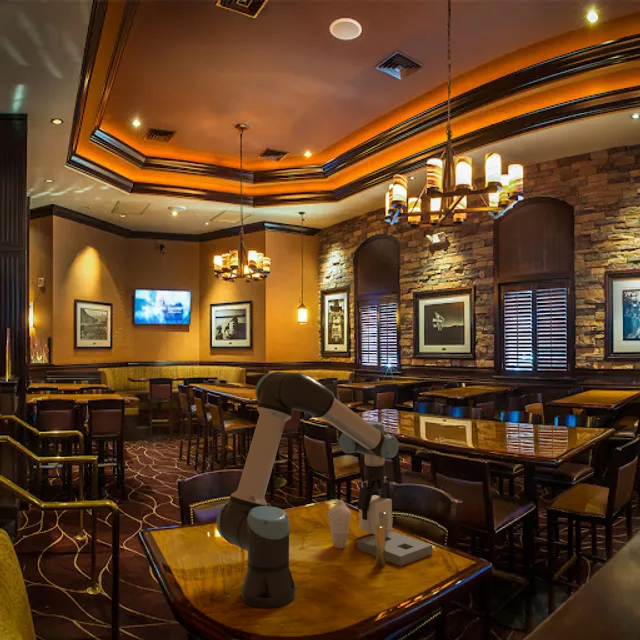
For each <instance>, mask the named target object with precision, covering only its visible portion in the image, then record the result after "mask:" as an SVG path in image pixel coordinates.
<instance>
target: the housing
mask: <svg viewBox="0 0 640 640" xmlns="http://www.w3.org/2000/svg"><path fill="white" fill-rule="evenodd" d="M392 503H393V499H392V500H391V499H389V498H382V497H380V496H379V495H376V494H374V495H372V498H371V501H370V502H369V508H368V511H370V529H366V528H363V519H362V510H360V509H358V515H359V516H358V518H359V519H358V520H359V521H358V522H359V526H358V527H359V530H361V531H364V532H366V533H370V534H372V535H375V526H377V525H379V512H381V511H385V512H388V530H390V531H393V506H392V505H393V504H392Z"/></svg>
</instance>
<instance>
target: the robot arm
mask: <svg viewBox="0 0 640 640" xmlns="http://www.w3.org/2000/svg"><path fill="white" fill-rule="evenodd" d="M254 392H255V397H256V401H257V406H256V409H257V412H258V414H259V416H258V419H257V423H256V426H255V429H254V434H253V436H252V440H251V443H250V446H249V450H248V453H247V456H246V459H245V463H244V467H243V470H242V473H241V477H240V480H239V484H238V487H237V489H236V491H234V492H233V493H231V494H230V498H229V500H228V501H227V502H225V503H224V505H222V506H221V507H220V509H219V510H218V512H217V515H216V529H217V532H218V533H219V536H220V537H221V538H223V539H224V540H225V541H226V542H227V543H229V544H231V545H234V546H236V547H238V548H241V549H243V550H245V551H246V552H247V570H246V574H245V577H244V580H243V583H242V587H241V600H242V602H243V601H244V604H246V605H248V606H250V605H251V606H250V607H253V606H254V608H259V607H260V608H261V609H267V608H268V609H270V608H271V609H273V608H277V607H278V608H279V607H281V606H282V607H283V606H285V605H287V604H288V603H291V602H292V601H293V600H294V599H295V598H296V584H295V580H294V578H293V575H292V573H291V569H290V522H289V516H288V514H287V512H285V511H284V510H283V509H282V508H280V507H276V506H269V505H268V503H267V500H266V499H265V495H266V492H267V488H268V485H269V481H270V479H271V478H270V477H271V474H272V470H273V468H274V464H275V460H276V456H277V453H278V449H279V445H280V442H281V439H282V434H283V432H284V427H285V423H287V421H289V420H291V419H292V417H293V413H294V411H299V412H302V413H303V412H304V413H307V414H309V415H311V416H313V417H314V418H316V419H320V418H321V419H322V420H324V421H325V422H327V423H328V424H330V425H331V426H333V427H334V428H336V429H337V430H339V431H340V432H341V433H342V434H340V437H339V441H338V442H339V444H338V445H339V448H340V450H341V452H343V453H344V454H353V453H359V454H363V455H364V475H365V477H366V478H365V480H364V481H359V493H358V500H357V501H358V502H357V503H358V504H357V510H359V509H360V510H362V519H363V528H366V529H370V511H368V508H369V502H370V501H371V498H372V496H373V494H374V493H375V491H377V493H378V496H380V497H382V498H388V499H391V500H392V501H393V497H392V492H391V491H392V490H391V484H390V480H391V478H390V476H385V474H386V468H385V463H386V461H385V459H392V458H394V457H396V456H397V454H398V452H399V449H400V448H399V447H400V445H399V441H398V439H397V438H396V437H395V436H392V435H390V434H387V435H386V434H385V427H384V424H383V423H382V422H378V421H367V420H365V419H364V418H363V417H361V416H359V414H357V413H356V412H354V411H353V409H350V408H349V407H347V406H346V405H345V404H344V403H342V402H341V401H339V400H338V399H337V398H336V397H335V394H334V393H333V391H332V390H330V389H329V388H328V387H326V386H324V385H323V384H322V383H321V382H320V381H317V380H316V379H314V378H312V376H309V375H307V374H304V373H301V372H282V371H275V372H267V373H266V374H264V375H263V376H262V377H261V378H260V379H259V380H258V381H257V384H256V386H255V391H254ZM260 608H259V609H260Z"/></svg>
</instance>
